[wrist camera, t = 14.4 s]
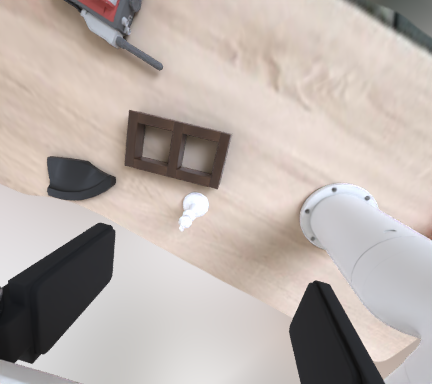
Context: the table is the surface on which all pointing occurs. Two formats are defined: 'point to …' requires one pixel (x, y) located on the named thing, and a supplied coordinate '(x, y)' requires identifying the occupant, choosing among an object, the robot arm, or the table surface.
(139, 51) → the walkie-talkie
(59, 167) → the curved wedge
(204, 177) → the rack
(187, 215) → the chess piece
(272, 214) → the table surface
